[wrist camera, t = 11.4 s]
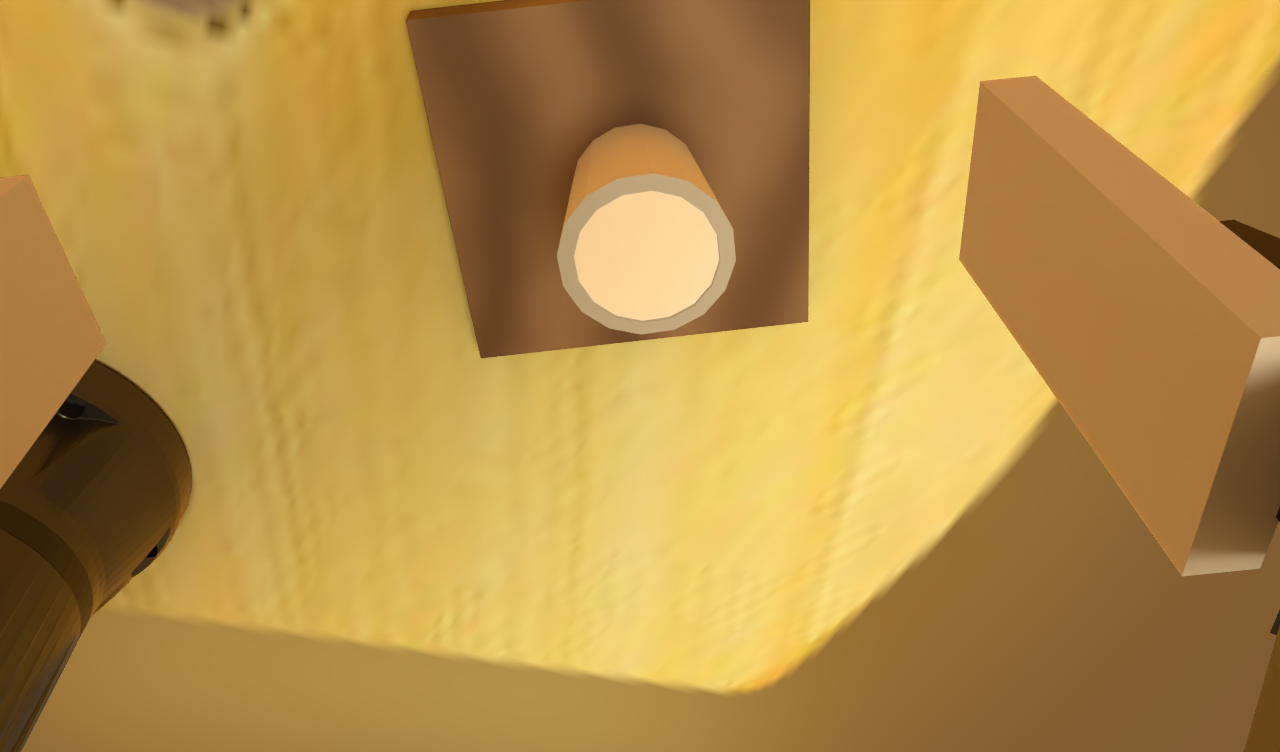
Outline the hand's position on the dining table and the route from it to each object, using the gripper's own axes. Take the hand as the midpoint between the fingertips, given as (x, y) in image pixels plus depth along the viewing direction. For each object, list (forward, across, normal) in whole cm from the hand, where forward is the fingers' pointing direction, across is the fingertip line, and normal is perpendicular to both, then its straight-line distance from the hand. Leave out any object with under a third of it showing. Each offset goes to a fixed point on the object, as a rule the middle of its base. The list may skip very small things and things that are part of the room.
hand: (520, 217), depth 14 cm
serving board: (+29, +2, -12) cm, 31 cm away
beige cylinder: (+28, +2, -12) cm, 30 cm away
